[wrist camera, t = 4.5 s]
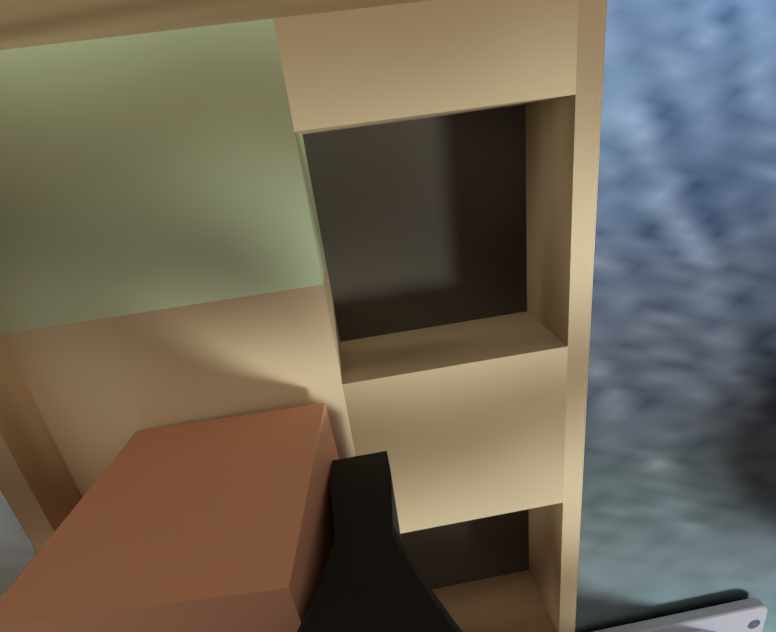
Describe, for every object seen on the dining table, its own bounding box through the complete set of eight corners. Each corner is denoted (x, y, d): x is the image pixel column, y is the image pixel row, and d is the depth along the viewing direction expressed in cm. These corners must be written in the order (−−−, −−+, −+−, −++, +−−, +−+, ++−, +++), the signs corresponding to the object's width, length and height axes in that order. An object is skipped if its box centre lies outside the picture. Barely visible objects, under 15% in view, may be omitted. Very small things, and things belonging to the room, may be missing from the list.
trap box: (540, 574, 16) (636, 773, 11) (201, 642, 15) (135, 889, 10) (544, -16, 9) (793, -205, 4) (-56, 54, 8) (-611, -76, 4)
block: (359, 542, 11) (350, 762, 7) (197, 564, 11) (103, 790, 7) (325, 403, 9) (288, 588, 5) (136, 430, 9) (-25, 628, 6)
